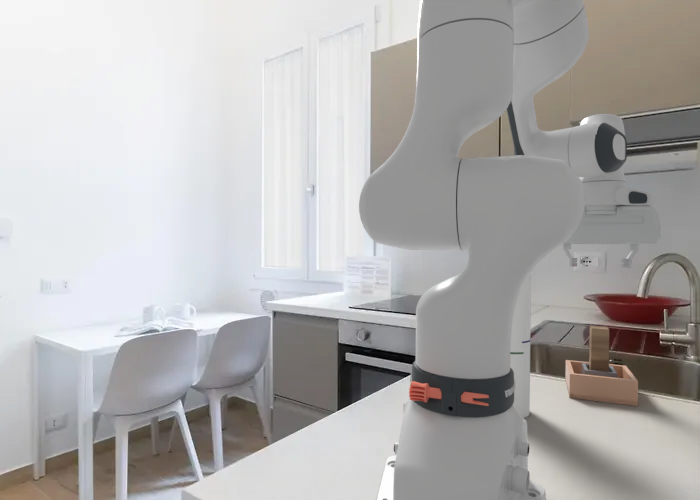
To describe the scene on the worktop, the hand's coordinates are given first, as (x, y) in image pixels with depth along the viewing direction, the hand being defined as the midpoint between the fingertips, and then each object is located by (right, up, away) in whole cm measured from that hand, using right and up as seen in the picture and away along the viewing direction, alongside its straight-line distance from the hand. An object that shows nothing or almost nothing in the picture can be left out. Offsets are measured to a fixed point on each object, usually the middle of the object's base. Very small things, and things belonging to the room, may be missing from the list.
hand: (599, 267), depth 88 cm
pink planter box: (-1, -25, -2) cm, 25 cm away
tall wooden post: (-1, -24, -2) cm, 24 cm away
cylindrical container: (-23, -25, -12) cm, 36 cm away
